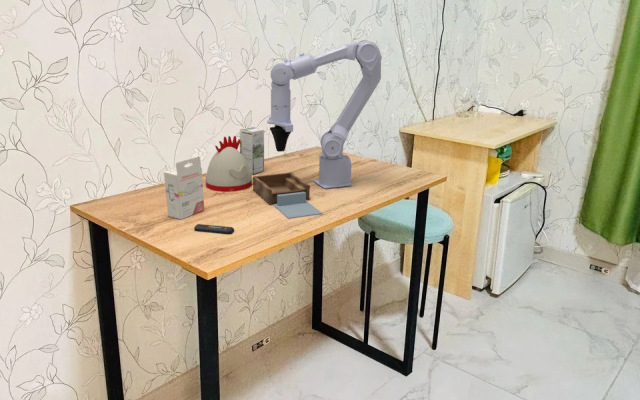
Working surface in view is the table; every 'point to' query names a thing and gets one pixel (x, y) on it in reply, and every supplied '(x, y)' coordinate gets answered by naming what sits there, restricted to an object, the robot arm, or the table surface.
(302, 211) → the lid
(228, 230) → the usb stick
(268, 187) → the box
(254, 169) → the syrup box
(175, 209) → the ink cartridge box
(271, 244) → the table surface
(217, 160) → the kitchen timer
